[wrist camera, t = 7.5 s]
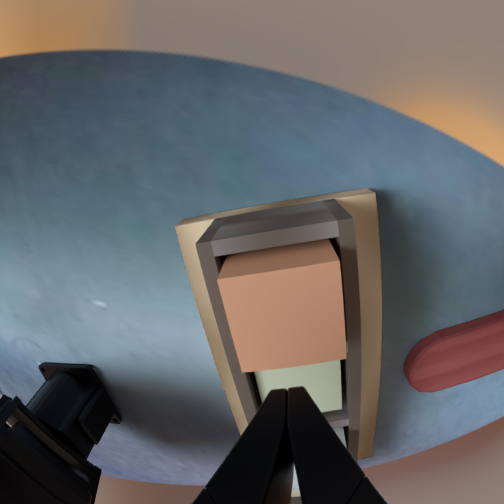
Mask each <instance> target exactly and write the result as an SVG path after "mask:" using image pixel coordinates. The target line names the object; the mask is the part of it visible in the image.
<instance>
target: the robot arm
mask: <svg viewBox="0 0 504 504" xmlns="http://www.w3.org/2000/svg"><path fill="white" fill-rule="evenodd" d="M39 369H40V371H41V373H42V375H43V376H44V378H45V380H46V381H45V383H44V384H43V385H42V386H41V387H40V389H39V390H38V391H37V392H36V394H35V395H34V396H33V397H32V399H31V400H30V401H29V402H28V404H27V405H26V406H25V405H24V404H23V403H22V402H21V400H20V399H19V398H18V397H17V396H15V397H14V398H13V399H12V398H11V397H8V396H6V395H3V396H2V397H1V398H0V504H94V503H95V497H96V493H97V489H98V484H99V480H100V475H101V471H102V470H101V469H100V468H98V467H97V466H94V465H93V464H91V463H90V462H89V461H87V458H88V456H89V454H90V452H91V450H92V448H93V446H94V444H96V445H97V444H98V443H99V441H100V439H101V437H102V435H103V434H104V432H105V430H106V428H107V426H108V424H109V423H113V424H120V423H121V421H122V418H121V416H120V415H119V413H118V411H117V410H116V408H115V407H114V405H113V403H112V402H111V400H110V398H109V396H108V395H107V393H106V391H105V390H104V388H103V386H102V384H101V382H100V381H99V379H98V377H97V375H96V373H95V371H94V370H93V368H92V367H90V366H89V365H71V364H52V363H41V364H40V365H39ZM6 421H7V422H8V423H10V425H11V426H12V427H10V426H9V425H8V424H7V423H6ZM294 465H295V471H296V476H297V481H298V486H299V491H300V496H301V501H302V504H387V503H386V501H385V500H384V499H383V497H382V496H381V495H380V494H379V492H378V491H377V490H376V489H375V487H374V486H373V485H372V483H371V482H370V480H369V479H368V478H367V477H365V474H364V472H363V471H362V470H361V468H360V467H359V465H358V464H357V463H356V461H355V460H354V458H353V457H352V455H351V454H350V453H349V451H348V450H347V448H346V447H345V445H344V444H343V443H342V441H341V440H340V438H339V437H338V435H337V434H336V433H335V431H334V430H333V428H332V427H331V425H330V424H329V422H328V421H327V420H326V418H325V417H324V415H323V414H322V412H321V411H320V409H319V408H318V406H317V405H316V403H315V402H314V400H313V399H312V398H311V396H310V395H309V393H308V392H307V390H306V389H305V387H303V386H298V387H290V388H288V390H287V389H286V388H281V389H272V390H270V392H269V393H268V395H267V396H266V398H265V399H264V401H263V403H262V404H261V406H260V407H259V409H258V410H257V412H256V414H255V415H254V417H253V418H252V420H251V421H250V423H249V424H248V426H247V427H246V429H245V430H244V432H243V433H242V435H241V436H240V438H239V439H238V441H237V442H236V444H235V445H234V447H233V448H232V450H231V451H230V452H229V454H228V455H227V457H226V458H225V460H224V461H223V462H222V464H221V465H220V467H219V468H218V469H217V471H216V472H215V474H214V475H213V476H212V478H211V479H210V480H209V482H208V483H207V485H206V486H205V488H206V489H203V490H202V491H201V492H200V494H199V495H198V496H197V498H196V499H195V500H194V502H193V503H192V504H290V502H291V493H292V484H293V474H294Z"/></svg>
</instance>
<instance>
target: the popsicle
mask: <svg viewBox="0 0 504 504" xmlns="http://www.w3.org/2000/svg"><path fill="white" fill-rule="evenodd" d="M502 369H504V310H502V311H499V312H496V313H493V314H490V315H487V316H484V317H481V318H478V319H475V320H471V321H468V322H465V323H462V324H459V325H455V326H452V327H449V328H445V329H442V330H438V331H435V332H434V333H432V334H430V335H429V336H427V337H425V338H423V339H422V340H420V341H419V342H418V343H417V344H416V346H415V347H414V348H413V349H412V350H411V351H410V352H409V355H408V357H407V359H406V361H405V364H404V372H405V375H406V378H407V380H408V382H409V384H410V386H411V387H413V388H414V389H416V390H417V391H419V392H435V391H438V390H442V389H445V388H449V387H452V386H456V385H459V384H462V383H465V382H469V381H472V380H475V379H478V378H481V377H483V376H486V375H489V374H491V373H494V372H496V371H499V370H502Z"/></svg>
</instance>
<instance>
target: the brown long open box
mask: <svg viewBox="0 0 504 504" xmlns="http://www.w3.org/2000/svg"><path fill="white" fill-rule="evenodd" d="M175 228H176V232H177V236H178V239H179V243H180V247H181V251H182V254H183V258H184V262H185V265H186V269H187V273H188V276H189V280H190V283H191V287H192V290H193V294H194V297H195V300H196V304H197V307H198V310H199V314H200V317H201V320H202V324H203V327H204V330H205V333H206V336H207V340H208V343H209V346H210V349H211V352H212V355H213V358H214V361H215V364H216V367H217V370H218V373H219V376H220V379H221V382H222V385H223V388H224V391H225V393H226V396H227V399H228V402H229V405H230V407H231V410H232V413H233V416H234V419H235V421H236V424H237V427H238V429H239V432H240V435H242V433H243V432H244V430H245V429H246V427H247V426H248V424H249V423H250V421H251V420H252V418H253V417H254V415H255V414H256V412H257V410H258V409H259V407H260V406H261V404H262V400H261V396H260V393H259V389H258V385H257V381H256V377H255V373H254V372H243V373H242V371H241V367H240V364H239V360H238V357H237V353H236V349H235V346H234V342H233V338H232V335H231V331H230V327H229V324H228V320H227V316H226V312H225V309H224V305H223V301H222V297H221V293H220V290H219V286H218V282H217V278H218V276H219V273H220V271H221V269H222V266H223V264H224V262H225V259H226V257H227V255H228V254H234V253H240V252H246V251H252V250H259V249H265V248H271V247H277V246H283V245H290V244H296V243H302V242H308V241H315V240H321V239H327V238H328V239H329V241H330V243H331V245H332V247H333V249H334V250H335V252H336V254H337V256H338V258H339V260H340V270H341V281H342V293H343V306H344V320H345V338H346V359H342V360H340V368H341V394H342V409H339V410H333V411H327V412H322V414H323V415H324V417H325V418H326V420H327V421H328V422H329V424H330V425H331V427H332V428H337V427H343V430H344V436H345V442H346V448H347V450H348V451H349V453H350V454H351V455H352V457H353V458H354V460H355V461H356V463H357V459H362V458H367V457H371V456H372V452H373V445H374V437H375V429H376V420H377V410H378V399H379V386H380V370H381V347H382V278H381V255H380V238H379V225H378V213H377V203H376V193H375V192H373V191H371V190H369V189H359V190H352V191H345V192H338V193H332V194H325V195H319V196H312V197H306V198H299V199H293V200H287V201H281V202H275V203H269V204H263V205H258V206H252V207H246V208H241V209H235V210H230V211H224V212H219V213H214V214H208V215H203V216H198V217H193V218H188V219H183V220H182V221H181V222H180V223H179V224H177V225H176V226H175ZM290 504H302V501H301V496H299V497H291V502H290Z"/></svg>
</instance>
